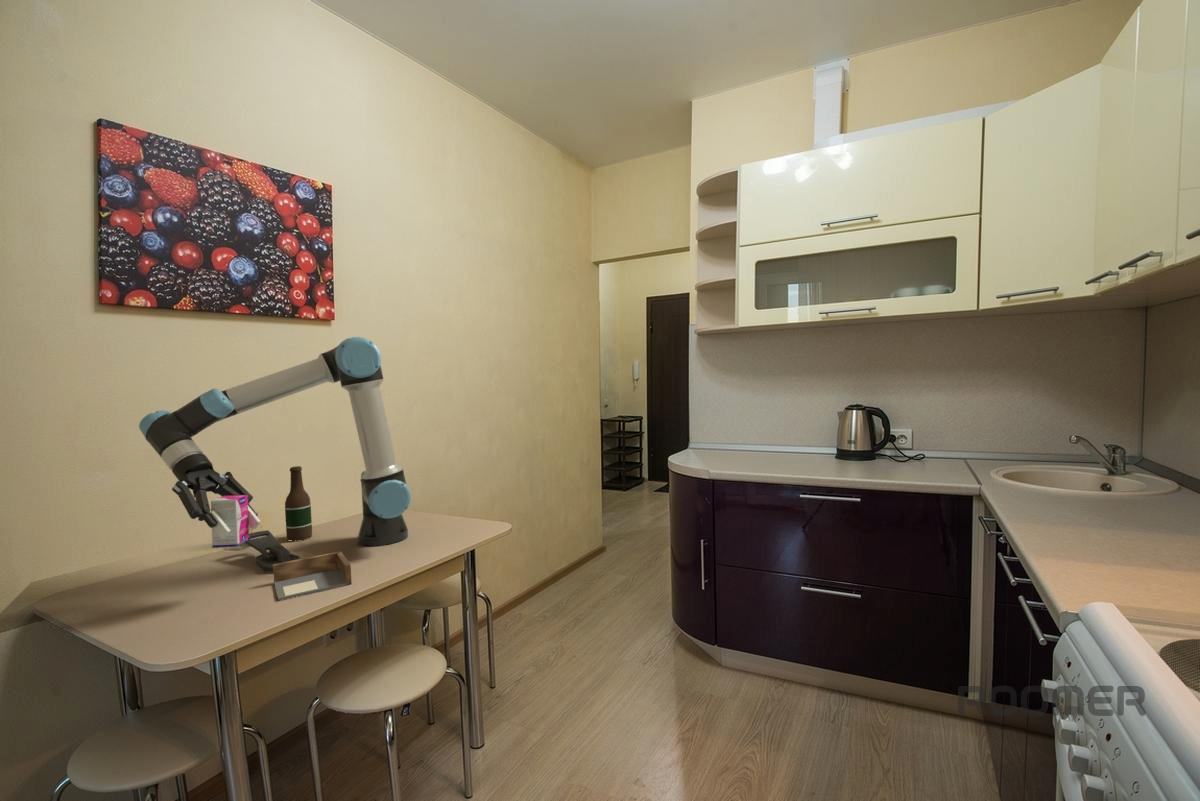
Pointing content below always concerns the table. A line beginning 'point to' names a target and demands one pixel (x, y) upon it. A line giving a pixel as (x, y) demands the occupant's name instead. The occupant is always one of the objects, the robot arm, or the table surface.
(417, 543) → the table surface
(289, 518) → the beer bottle
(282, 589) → the grey mat
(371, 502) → the robot arm
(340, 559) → the walnut corner walls
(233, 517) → the supplement box
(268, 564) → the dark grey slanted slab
